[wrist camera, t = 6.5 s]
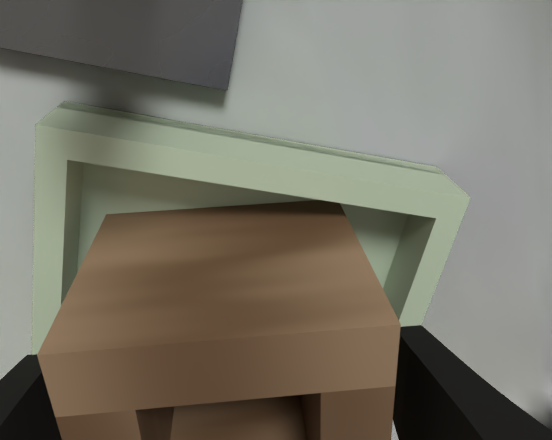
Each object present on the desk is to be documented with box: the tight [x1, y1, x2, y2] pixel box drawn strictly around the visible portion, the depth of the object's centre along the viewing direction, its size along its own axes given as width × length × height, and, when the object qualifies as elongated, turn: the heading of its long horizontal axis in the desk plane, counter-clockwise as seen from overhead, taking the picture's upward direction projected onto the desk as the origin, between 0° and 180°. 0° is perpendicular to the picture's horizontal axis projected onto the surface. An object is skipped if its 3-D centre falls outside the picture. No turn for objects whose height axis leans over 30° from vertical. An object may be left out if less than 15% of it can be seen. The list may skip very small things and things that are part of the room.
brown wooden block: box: [37, 200, 401, 440], centre depth 11 cm, size 6×6×5 cm
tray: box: [32, 101, 471, 355], centre depth 13 cm, size 9×9×2 cm
